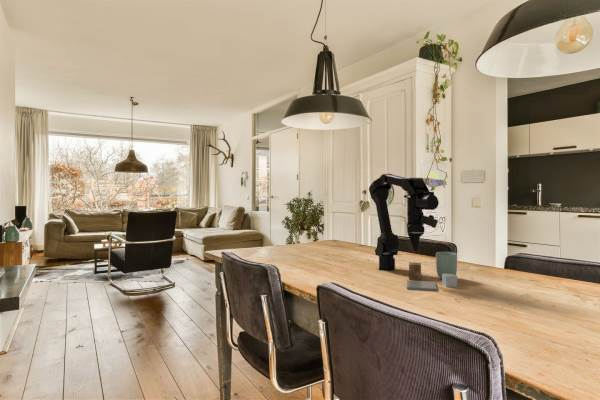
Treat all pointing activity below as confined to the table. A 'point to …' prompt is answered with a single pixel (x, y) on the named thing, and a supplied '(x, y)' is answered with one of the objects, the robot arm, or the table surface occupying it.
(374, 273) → the table surface
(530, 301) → the table surface
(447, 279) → the painted cube
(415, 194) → the robot arm
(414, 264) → the walnut block
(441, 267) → the cup
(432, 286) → the coaster
